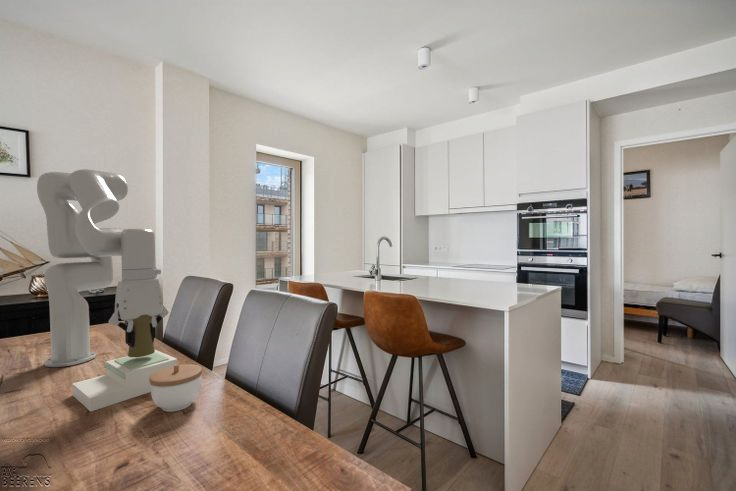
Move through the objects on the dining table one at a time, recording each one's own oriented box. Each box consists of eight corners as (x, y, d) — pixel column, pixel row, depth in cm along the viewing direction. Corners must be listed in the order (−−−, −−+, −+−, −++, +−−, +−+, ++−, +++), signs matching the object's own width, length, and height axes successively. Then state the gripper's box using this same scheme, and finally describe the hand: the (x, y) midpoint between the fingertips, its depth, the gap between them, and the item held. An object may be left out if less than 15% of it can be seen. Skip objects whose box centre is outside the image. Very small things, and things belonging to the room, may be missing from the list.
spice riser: (72, 395, 87) (71, 368, 87) (155, 371, 102) (155, 348, 102) (90, 411, 78) (89, 381, 78) (178, 383, 94) (177, 357, 93)
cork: (141, 357, 89) (140, 315, 89) (122, 356, 91) (120, 314, 90) (160, 350, 95) (159, 310, 95) (141, 349, 97) (140, 309, 96)
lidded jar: (176, 420, 74) (175, 376, 74) (138, 413, 77) (137, 371, 77) (212, 398, 85) (211, 359, 84) (177, 392, 88) (176, 355, 87)
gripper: (166, 271, 101) (167, 334, 102) (96, 277, 88) (98, 349, 89) (178, 273, 97) (179, 338, 97) (106, 279, 84) (108, 355, 84)
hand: (140, 343), depth 93 cm, fingers closed on cork, 3 cm apart
